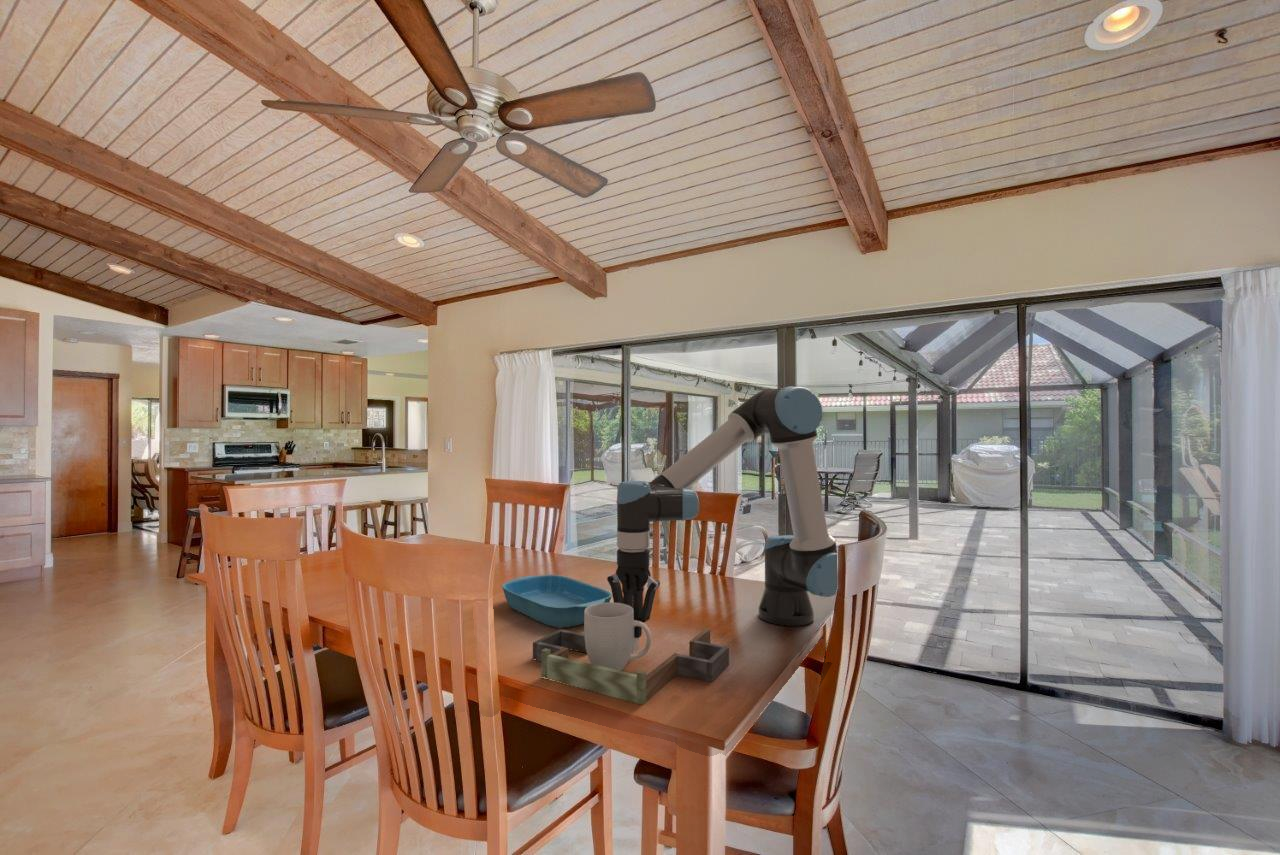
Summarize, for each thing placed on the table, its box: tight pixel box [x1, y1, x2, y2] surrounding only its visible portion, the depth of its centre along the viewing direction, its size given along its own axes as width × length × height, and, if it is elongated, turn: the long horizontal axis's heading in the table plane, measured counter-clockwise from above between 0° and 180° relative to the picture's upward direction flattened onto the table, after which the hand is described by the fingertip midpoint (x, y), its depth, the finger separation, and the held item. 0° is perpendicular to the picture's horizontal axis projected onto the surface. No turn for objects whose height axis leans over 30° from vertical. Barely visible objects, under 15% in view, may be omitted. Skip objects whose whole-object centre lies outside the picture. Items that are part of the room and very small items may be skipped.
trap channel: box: [532, 628, 730, 706], centre depth 134 cm, size 40×35×6 cm
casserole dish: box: [501, 574, 613, 628], centre depth 169 cm, size 37×22×7 cm, turn 43°
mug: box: [583, 601, 652, 671], centre depth 130 cm, size 15×11×13 cm
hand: (632, 650), depth 134 cm, fingers closed
